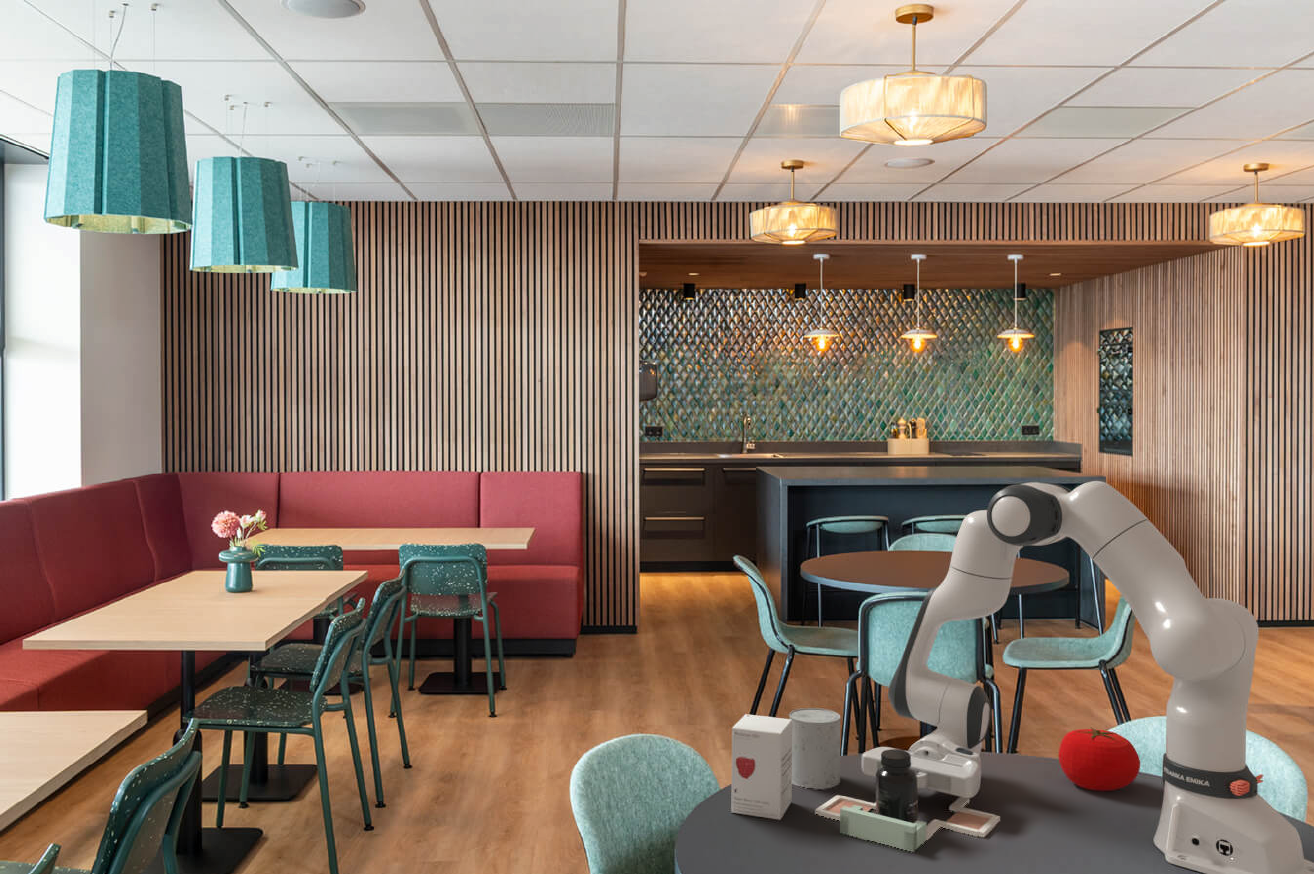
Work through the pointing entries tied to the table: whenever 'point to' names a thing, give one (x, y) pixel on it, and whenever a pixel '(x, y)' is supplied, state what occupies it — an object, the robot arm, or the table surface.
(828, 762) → the speckled concrete cylinder
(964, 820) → the trap lane
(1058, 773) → the table surface
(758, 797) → the supplement box
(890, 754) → the supplement bottle
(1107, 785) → the tomato
